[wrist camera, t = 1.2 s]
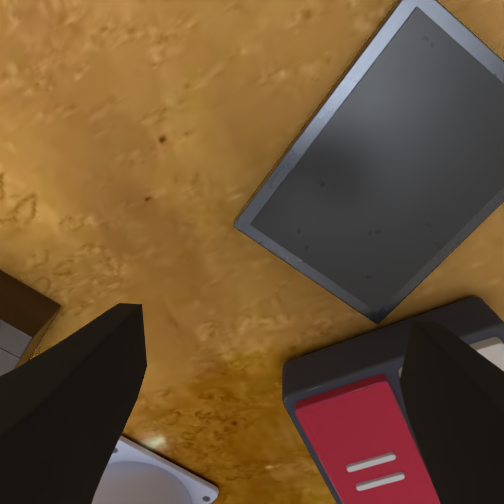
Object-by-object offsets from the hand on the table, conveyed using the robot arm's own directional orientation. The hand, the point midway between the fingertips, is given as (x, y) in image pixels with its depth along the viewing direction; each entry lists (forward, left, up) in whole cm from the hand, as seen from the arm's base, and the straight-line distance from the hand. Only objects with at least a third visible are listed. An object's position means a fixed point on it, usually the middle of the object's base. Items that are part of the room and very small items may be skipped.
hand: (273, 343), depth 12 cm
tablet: (+5, -3, -10) cm, 12 cm away
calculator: (-5, -14, -10) cm, 18 cm away
